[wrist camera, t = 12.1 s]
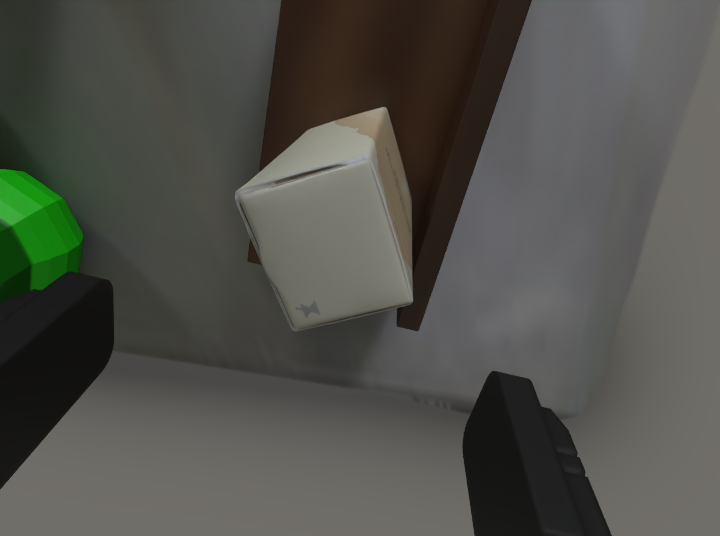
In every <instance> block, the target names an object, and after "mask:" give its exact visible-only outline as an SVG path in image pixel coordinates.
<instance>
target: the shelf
mask: <svg viewBox="0 0 720 536" xmlns="http://www.w3.org/2000/svg"><path fill="white" fill-rule="evenodd" d="M531 1H532V0H282V1H281V8H280V16H279V23H278V31H277V39H276V46H275V54H274V62H273V69H272V77H271V85H270V92H269V100H268V107H267V115H266V123H265V130H264V138H263V146H262V153H261V161H260V169H259V172H260V171H262V170H263V169H264V168H265V167H266V166H267V165H268V164H269V163H271V162H272V161H273V160H274V159H275V158H277V157H278V156H279V155H280V154H281V153H282V152H284V151H285V150H286V149H287V148H288V147H289V146H291V145H292V144H293V143H294V142H295V141H296V140H297V139H298V138H299V137H301V136H302V135H303V134H304V133H305V132H306V131H307V130H309V129H311V128H314V127H317V126H320V125H323V124H326V123H329V122H332V121H336V120H339V119H342V118H346V117H349V116H352V115H356V114H359V113H363V112H366V111H370V110H374V109H378V108H381V107H386V108H387V110H388V114H389V117H390V121H391V124H392V127H393V131H394V135H395V138H396V142H397V145H398V149H399V152H400V156H401V160H402V163H403V167H404V171H405V175H406V178H407V182H408V186H409V190H410V194H411V198H412V281H413V302H412V303H411V304H410V305H407V306H404V307H399V308H397V326H398V327H402V328H406V329H410V330H414V331H418V330H419V328H420V325H421V323H422V320H423V317H424V314H425V311H426V308H427V305H428V302H429V299H430V296H431V293H432V290H433V287H434V285H435V282H436V279H437V276H438V273H439V270H440V267H441V264H442V261H443V258H444V255H445V252H446V250H447V247H448V244H449V241H450V238H451V235H452V232H453V229H454V226H455V223H456V220H457V217H458V214H459V212H460V209H461V206H462V203H463V200H464V197H465V194H466V191H467V188H468V185H469V182H470V179H471V176H472V174H473V171H474V168H475V165H476V162H477V159H478V156H479V153H480V150H481V147H482V144H483V141H484V138H485V136H486V133H487V130H488V127H489V124H490V121H491V118H492V115H493V112H494V109H495V106H496V103H497V100H498V98H499V95H500V92H501V89H502V86H503V83H504V80H505V77H506V74H507V71H508V68H509V65H510V63H511V60H512V57H513V54H514V51H515V48H516V45H517V42H518V39H519V36H520V33H521V30H522V27H523V25H524V22H525V19H526V16H527V13H528V10H529V7H530V4H531ZM248 262H252V263H256V264H260V265H262V263H261V261H260V259H259V256H258V254H257V252H256V249H255V247H254V245H253V242H252V240H251V238H250V245H249V252H248Z"/></svg>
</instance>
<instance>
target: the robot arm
mask: <svg viewBox="0 0 720 536" xmlns="http://www.w3.org/2000/svg"><path fill="white" fill-rule="evenodd" d="M113 345H114V307H113V286H112V284H111V282H110V281H109V280H106V279H102V278H97V277H93V276H89V275H84V274H80V273H76V272H66V273H65V274H63V275H62V276H60V277H59V278H58V279H56V280H55V281H53V282H52V283H51V284H49V285H48V286H47V287H45V288H44V289H43V290H37V289H33V290H30V291H28V292H25V293H22V294H20V295H17V296H14V297H12V298H9V299H6V300H4V301H3V302H1V303H0V489H1V488H2V487H3V486H4V484H5V483H6V482H7V481H8V480H9V479H10V477H11V476H12V475H13V474H14V473H15V472H16V470H17V469H18V468H19V467H20V466H21V465H22V464H23V462H24V461H25V460H26V459H27V458H28V456H29V455H30V454H31V453H32V452H33V451H34V450H35V448H36V447H37V446H38V445H39V444H40V442H41V441H42V440H43V439H44V438H45V437H46V436H47V435H48V433H49V432H50V431H51V430H52V429H53V428H54V426H55V425H56V424H57V423H58V422H59V421H60V419H61V418H62V417H63V416H64V415H65V414H66V412H67V411H68V410H69V409H70V408H71V407H72V406H73V404H74V403H75V402H76V401H77V400H78V399H79V397H80V396H81V395H82V394H83V393H84V392H85V390H86V389H87V388H88V387H89V386H90V385H91V384H92V382H93V381H94V380H95V379H96V378H97V377H98V375H99V374H100V373H101V372H102V371H103V369H104V368H105V366H106V365H107V363H108V361H109V359H110V356H111V353H112V350H113ZM463 458H464V465H465V472H466V478H467V486H468V493H469V500H470V507H471V514H472V521H473V527H474V535H475V536H612V535H611V533H610V530H609V528H608V526H607V523H606V521H605V518H604V516H603V513H602V511H601V509H600V506H599V504H598V501H597V499H596V496H595V494H594V492H593V489H592V487H591V484H590V482H589V480H588V477H585V470H584V467H583V465H582V462H581V460H580V458H579V457H577V450H576V448H575V445H574V443H573V441H572V438H571V435H570V433H569V431H568V429H567V428H566V427H565V426H564V424H563V423H562V422H561V421H560V420H559V418H558V417H557V416H556V415H555V414H554V412H553V411H552V410H551V409H548V408H544V407H541V405H540V403H539V400H538V397H537V394H536V392H535V389H534V386H533V384H532V382H531V380H530V379H527V378H523V377H519V376H514V375H510V374H506V373H502V372H497V371H492V372H491V373H490V374H489V375H488V377H487V379H486V381H485V384H484V386H483V388H482V390H481V392H480V395H479V397H478V399H477V401H476V403H475V406H474V408H473V410H472V412H471V415H470V417H469V419H468V421H467V424H466V427H465V432H464V437H463Z"/></svg>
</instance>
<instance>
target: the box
mask: <svg viewBox="0 0 720 536" xmlns="http://www.w3.org/2000/svg"><path fill="white" fill-rule="evenodd" d="M235 201H236V204H237V207H238V209H239V211H240V213H241V216H242V218H243V221H244V223H245V226H246V228H247V231H248V233H249V235H250V238H251V240H252V242H253V245H254V247H255V249H256V252H257V254H258V256H259V259H260V261H261V263H262V266H263V268H264V270H265V272H266V275H267V277H268V279H269V281H270V284H271V286H272V288H273V290H274V292H275V295H276V297H277V299H278V301H279V303H280V306H281V308H282V310H283V312H284V314H285V316H286V319H287V321H288V323H289V325H290V327H291V329H292V330H293V331H300V330H305V329H310V328H314V327H319V326H324V325H329V324H333V323H337V322H341V321H346V320H350V319H355V318H360V317H363V316H367V315H371V314H376V313H380V312H383V311H387V310H391V309H395V308H399V307H404V306H407V305H410V304H411V303H412V302H413V281H412V198H411V194H410V190H409V186H408V182H407V178H406V175H405V171H404V167H403V163H402V160H401V156H400V152H399V149H398V145H397V142H396V138H395V135H394V131H393V127H392V124H391V121H390V117H389V114H388V110H387V108H386V107H381V108H378V109H374V110H370V111H366V112H363V113H359V114H356V115H352V116H349V117H346V118H342V119H339V120H336V121H332V122H329V123H326V124H323V125H320V126H317V127H314V128H311V129H309V130H307V131H306V132H305V133H304V134H303V135H302V136H301V137H299V138H298V139H297V140H296V141H295V142H294V143H293V144H292V145H291V146H289V147H288V148H287V149H286V150H285V151H284V152H282V153H281V154H280V155H279V156H278V157H277V158H275V159H274V160H273V161H272V162H271V163H269V164H268V165H267V166H266V167H265V168H264V169H263V170H262V171H260V172H259V173H258V174H257V175H256V176H254V177H253V178H252V179H251V180H250V181H249V182H248V183H246V184H245V185H244V186H242V187H241V188H240V189H239V190H237V191H236V193H235Z"/></svg>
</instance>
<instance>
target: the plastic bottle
mask: <svg viewBox="0 0 720 536" xmlns="http://www.w3.org/2000/svg"><path fill="white" fill-rule="evenodd" d="M83 238H84V237H83V234H82V231H81V229H80V227H79V226H78V224H77V222H76V220H75V218H74V216H73V214H72V213H71V211H70V209H69V207H68V205H67V203H66V201H65V200H64V199H63V198H62V197H60V196H59V195H57V194H56V193H54V192H53V191H52V190H50V189H49V188H47V187H46V186H44V185H43V184H42V183H40V182H39V181H37V180H36V179H34V178H33V177H32V176H30V175H28V174H27V173H25V172H24V171H15V170H6V169H0V303H1V302H3V301H4V300H6V299H9V298H12V297H14V296H17V295H20V294H22V293H25V292H28V291H30V290H33V289H37V290H43V289H44V288H45V287H47V286H48V285H49V284H51V283H52V282H53V281H55V280H56V279H58V278H59V277H60V276H62V275H63V274H65V273H66V272H76V273H78V272H79V268H80V260H81V253H82V245H83Z"/></svg>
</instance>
